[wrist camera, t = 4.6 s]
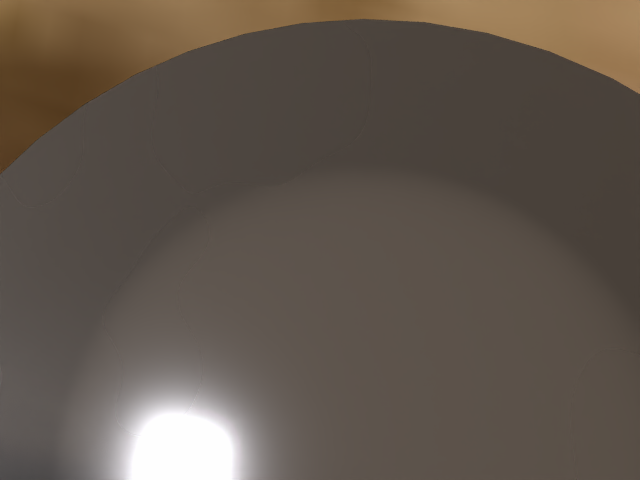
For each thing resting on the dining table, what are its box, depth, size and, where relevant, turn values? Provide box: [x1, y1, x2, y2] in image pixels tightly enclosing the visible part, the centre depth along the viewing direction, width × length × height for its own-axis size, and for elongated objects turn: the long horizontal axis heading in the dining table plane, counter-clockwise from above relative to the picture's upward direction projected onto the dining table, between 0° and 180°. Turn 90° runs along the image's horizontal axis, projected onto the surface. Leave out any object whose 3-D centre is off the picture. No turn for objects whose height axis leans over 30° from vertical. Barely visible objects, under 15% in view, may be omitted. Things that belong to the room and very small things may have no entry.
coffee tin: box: [0, 19, 640, 480], centre depth 9 cm, size 5×5×12 cm
